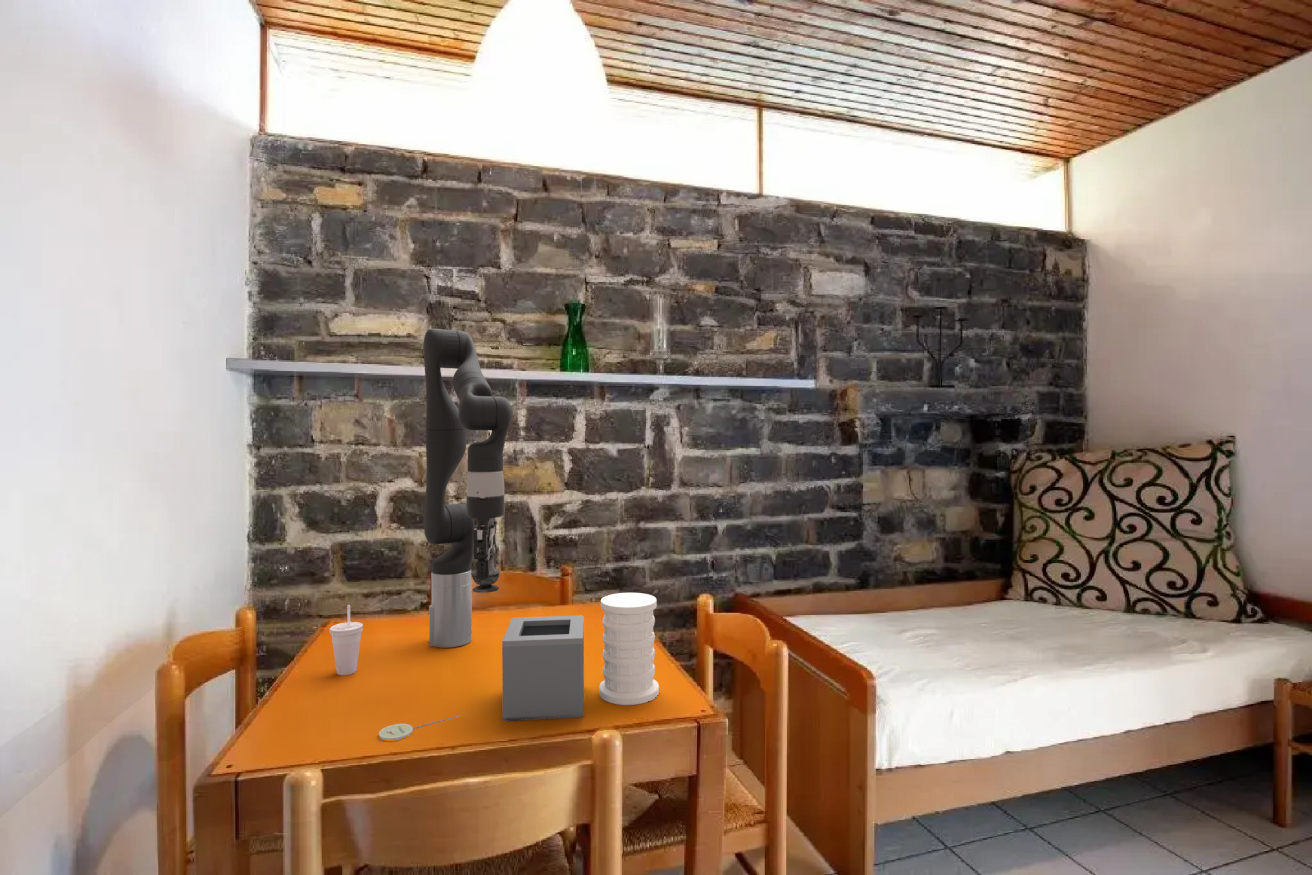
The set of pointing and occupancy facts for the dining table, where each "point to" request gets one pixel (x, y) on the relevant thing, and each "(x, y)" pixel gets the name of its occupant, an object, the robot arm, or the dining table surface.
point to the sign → (401, 730)
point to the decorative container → (628, 649)
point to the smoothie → (346, 645)
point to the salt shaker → (493, 577)
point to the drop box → (543, 668)
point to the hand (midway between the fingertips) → (485, 574)
